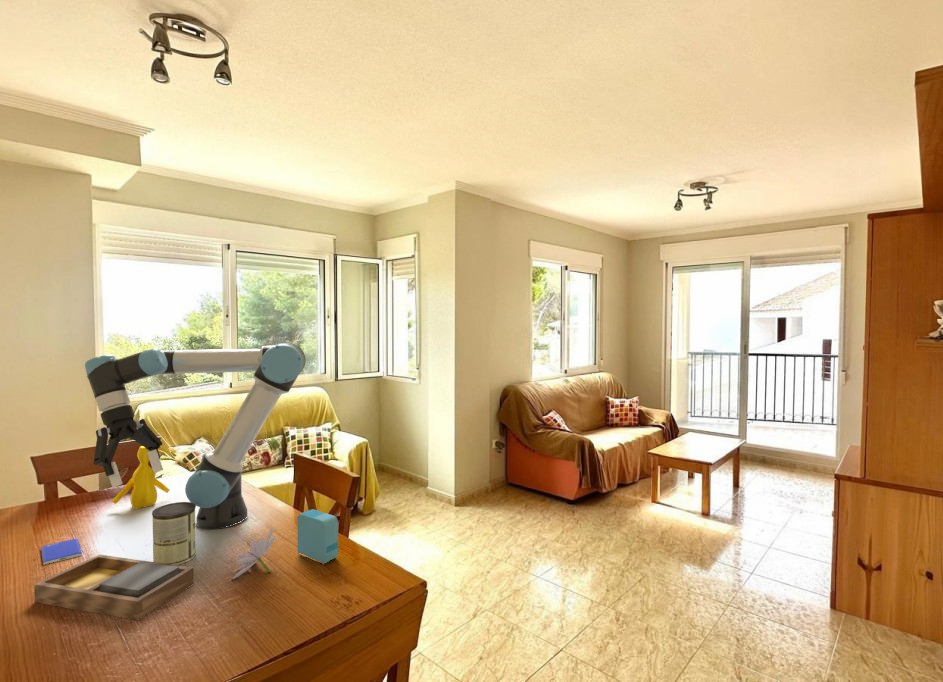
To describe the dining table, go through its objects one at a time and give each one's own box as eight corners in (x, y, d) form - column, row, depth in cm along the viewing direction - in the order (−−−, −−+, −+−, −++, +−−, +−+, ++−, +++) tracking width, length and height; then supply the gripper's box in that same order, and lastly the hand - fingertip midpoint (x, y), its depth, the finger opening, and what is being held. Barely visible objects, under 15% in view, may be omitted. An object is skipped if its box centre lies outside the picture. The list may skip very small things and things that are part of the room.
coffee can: (148, 558, 134) (148, 508, 134) (190, 546, 141) (189, 499, 141) (157, 571, 127) (156, 518, 126) (200, 558, 134) (200, 508, 134)
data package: (338, 559, 134) (338, 516, 133) (325, 566, 130) (325, 522, 130) (310, 548, 140) (310, 507, 140) (297, 554, 137) (296, 512, 136)
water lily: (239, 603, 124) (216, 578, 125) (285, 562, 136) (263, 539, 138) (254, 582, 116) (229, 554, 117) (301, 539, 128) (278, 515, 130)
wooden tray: (34, 602, 112) (34, 580, 112) (100, 569, 128) (100, 550, 127) (137, 620, 105) (137, 597, 105) (194, 583, 121) (194, 563, 121)
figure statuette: (168, 497, 183) (167, 439, 182) (174, 502, 177) (173, 442, 177) (110, 510, 170) (109, 447, 169) (115, 516, 164) (114, 451, 164)
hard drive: (41, 546, 139) (43, 561, 130) (77, 537, 145) (82, 551, 136) (41, 551, 139) (43, 567, 130) (77, 543, 145) (82, 557, 136)
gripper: (142, 405, 152) (163, 469, 151) (61, 420, 128) (86, 497, 127) (161, 398, 151) (183, 462, 150) (83, 411, 126) (109, 488, 125)
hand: (139, 478), depth 138 cm, fingers open, 13 cm apart
